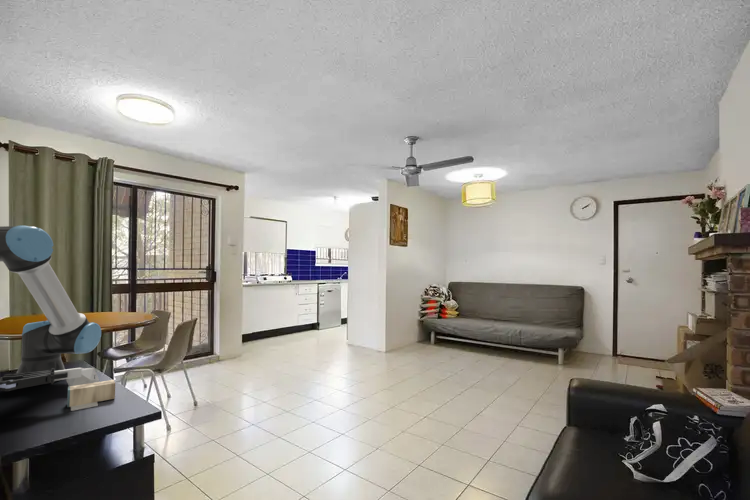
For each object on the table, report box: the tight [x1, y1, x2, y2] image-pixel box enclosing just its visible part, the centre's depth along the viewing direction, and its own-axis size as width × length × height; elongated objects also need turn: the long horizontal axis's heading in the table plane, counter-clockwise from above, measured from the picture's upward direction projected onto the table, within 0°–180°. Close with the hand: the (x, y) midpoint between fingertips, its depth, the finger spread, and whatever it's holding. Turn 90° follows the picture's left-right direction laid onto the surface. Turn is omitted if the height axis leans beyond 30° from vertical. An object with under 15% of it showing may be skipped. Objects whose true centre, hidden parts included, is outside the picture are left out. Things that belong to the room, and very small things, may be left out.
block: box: [66, 379, 116, 408], centre depth 120 cm, size 5×5×12 cm
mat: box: [70, 402, 99, 412], centre depth 119 cm, size 12×6×1 cm, turn 40°
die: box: [65, 367, 100, 387], centre depth 131 cm, size 8×9×10 cm
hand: (81, 372), depth 118 cm, fingers closed
